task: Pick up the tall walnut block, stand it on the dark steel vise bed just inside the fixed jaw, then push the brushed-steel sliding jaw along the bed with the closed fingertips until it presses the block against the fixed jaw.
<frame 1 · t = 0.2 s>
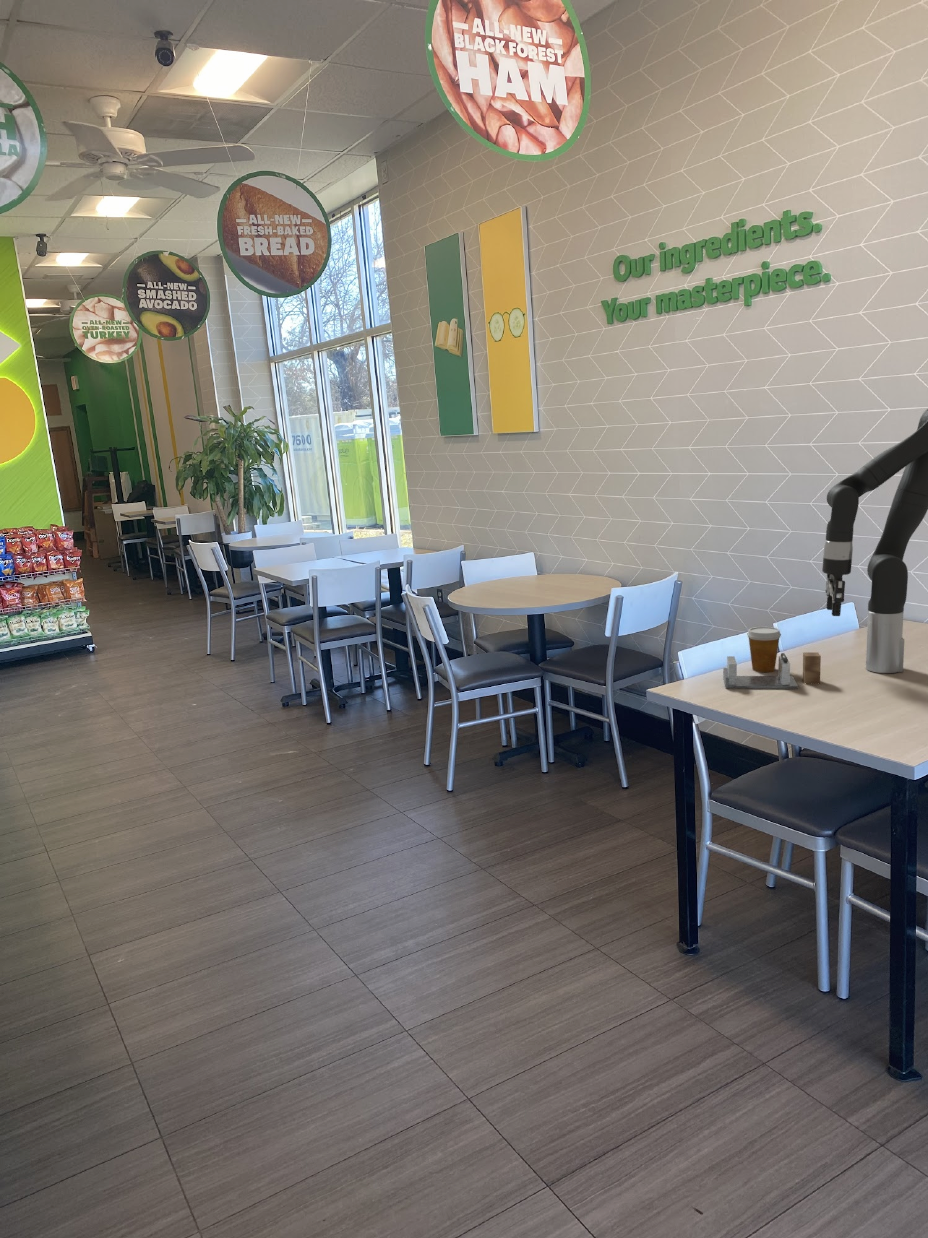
hand: (833, 612, 258), 17 cm above the table, tool pointing down, fingers open, 8 cm apart
walnut block: (811, 682, 252), on the table
vise bed: (759, 683, 253), on the table
disposable coffee cup: (763, 670, 267), on the table
sliding jaw: (784, 668, 251), point 4 cm above the table, slide at 0.0 cm
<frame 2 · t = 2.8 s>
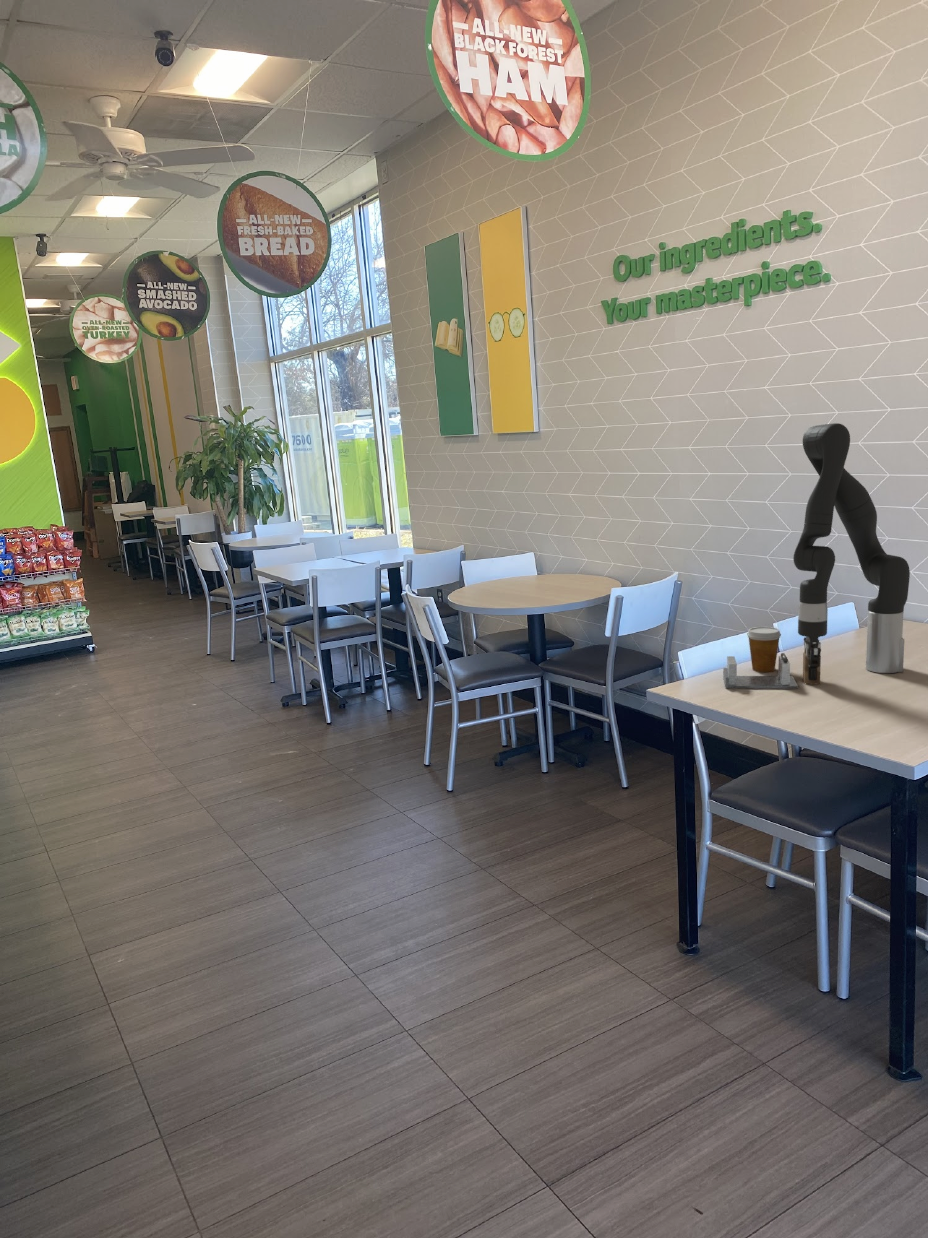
hand: (811, 677, 252), 1 cm above the table, tool pointing down, fingers closed on walnut block, 4 cm apart
walnut block: (811, 681, 252), on the table, touching gripper
everything else where it was.
when the fingers open (3 cm above the table, at t = 7.3 s): walnut block drops 1 cm, resting on vise bed.
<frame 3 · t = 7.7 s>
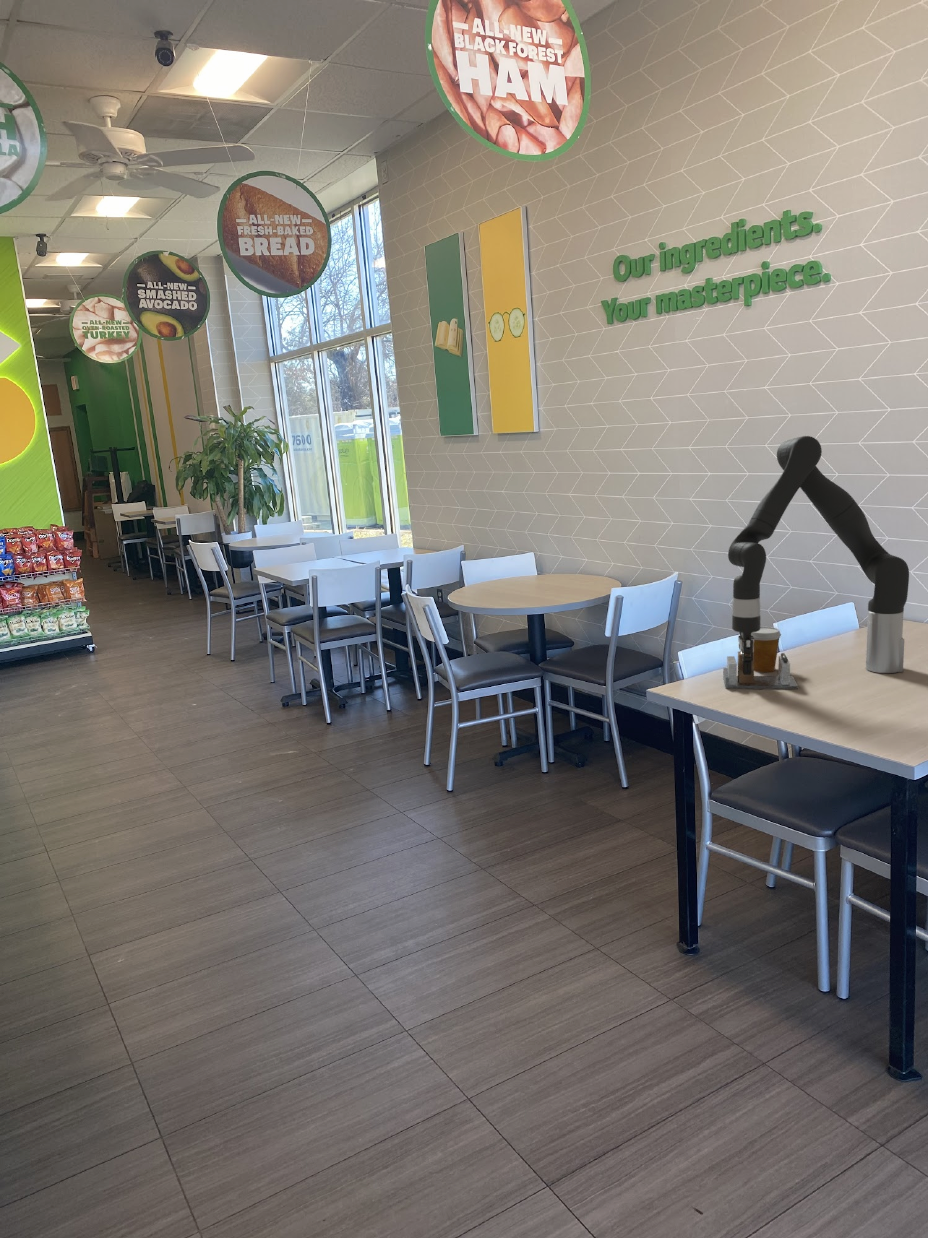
hand: (745, 670, 253), 4 cm above the table, tool pointing down, fingers open, 7 cm apart
walnut block: (745, 680, 254), point 1 cm above the table, touching vise bed
everything else where it was.
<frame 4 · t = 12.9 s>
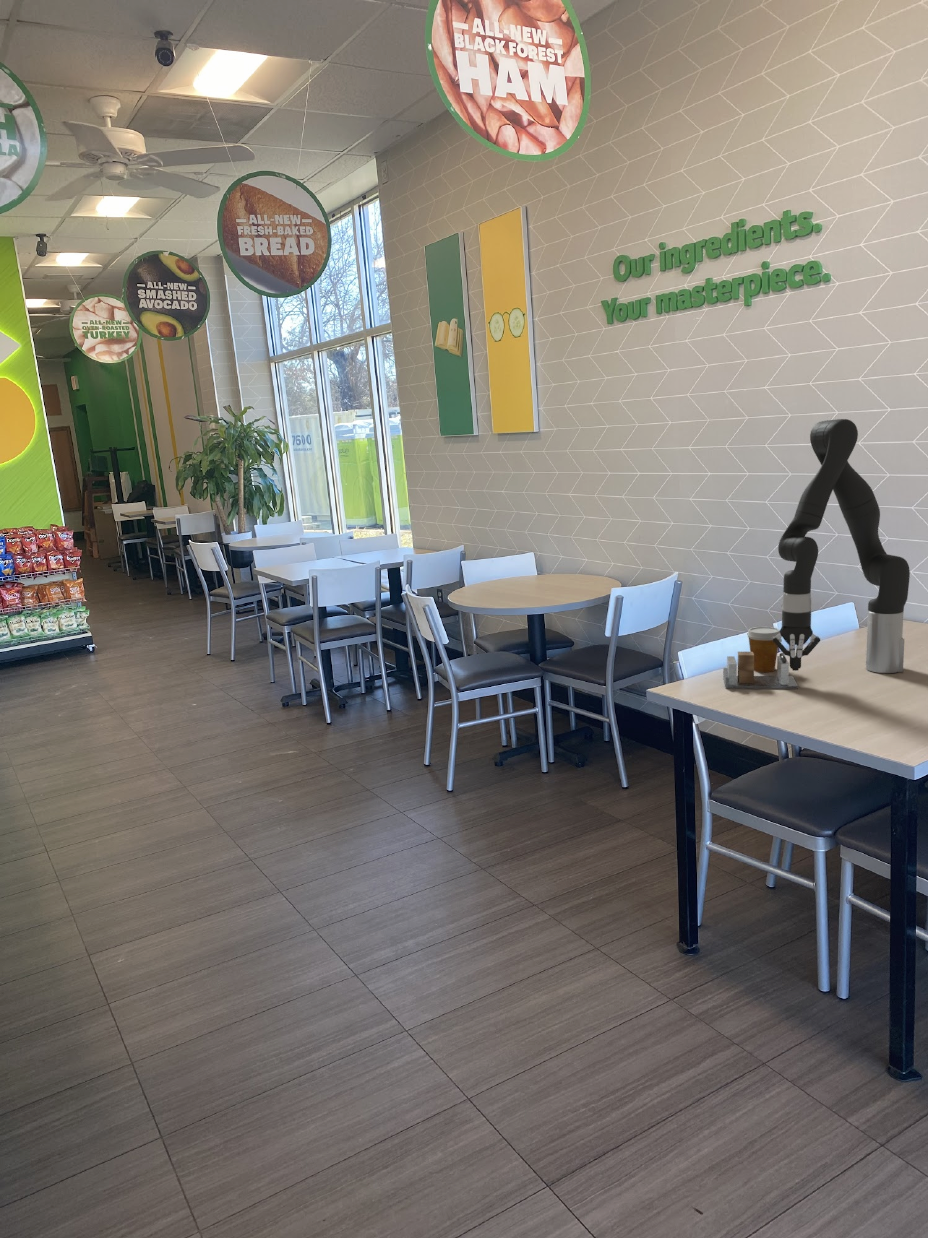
hand: (795, 669, 250), 4 cm above the table, tool pointing down, fingers closed
sliding jaw: (782, 668, 251), point 4 cm above the table, slide at 0.3 cm, touching gripper
everything else where it was.
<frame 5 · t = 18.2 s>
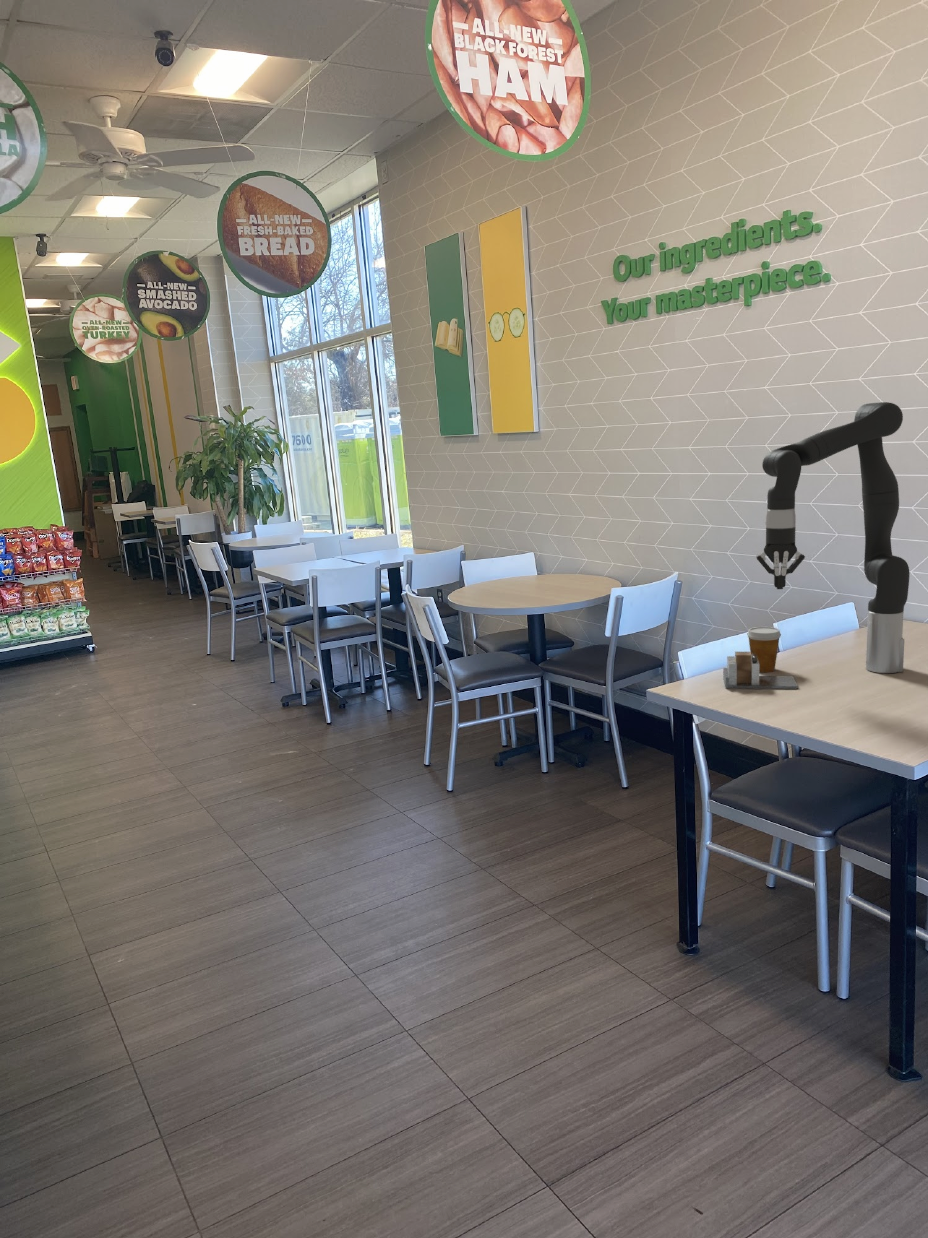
hand: (779, 588, 246), 27 cm above the table, tool pointing down, fingers closed
sliding jaw: (754, 668, 252), point 4 cm above the table, slide at 8.0 cm
everything else where it was.
at the end: sliding jaw slide at 8.0 cm; walnut block 0.5 cm from the target spot, point 0.8 cm above the table; walnut block tilted 0° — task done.
